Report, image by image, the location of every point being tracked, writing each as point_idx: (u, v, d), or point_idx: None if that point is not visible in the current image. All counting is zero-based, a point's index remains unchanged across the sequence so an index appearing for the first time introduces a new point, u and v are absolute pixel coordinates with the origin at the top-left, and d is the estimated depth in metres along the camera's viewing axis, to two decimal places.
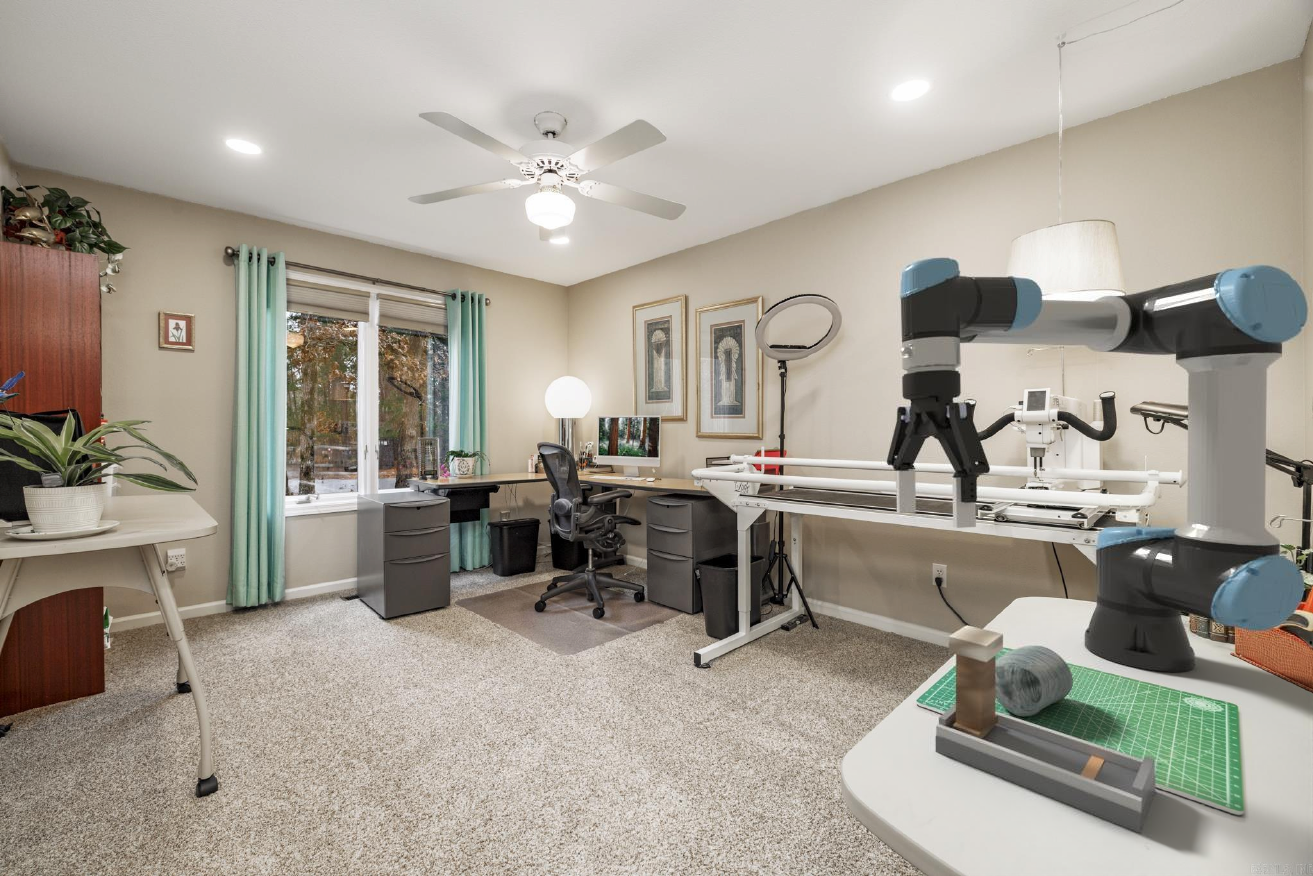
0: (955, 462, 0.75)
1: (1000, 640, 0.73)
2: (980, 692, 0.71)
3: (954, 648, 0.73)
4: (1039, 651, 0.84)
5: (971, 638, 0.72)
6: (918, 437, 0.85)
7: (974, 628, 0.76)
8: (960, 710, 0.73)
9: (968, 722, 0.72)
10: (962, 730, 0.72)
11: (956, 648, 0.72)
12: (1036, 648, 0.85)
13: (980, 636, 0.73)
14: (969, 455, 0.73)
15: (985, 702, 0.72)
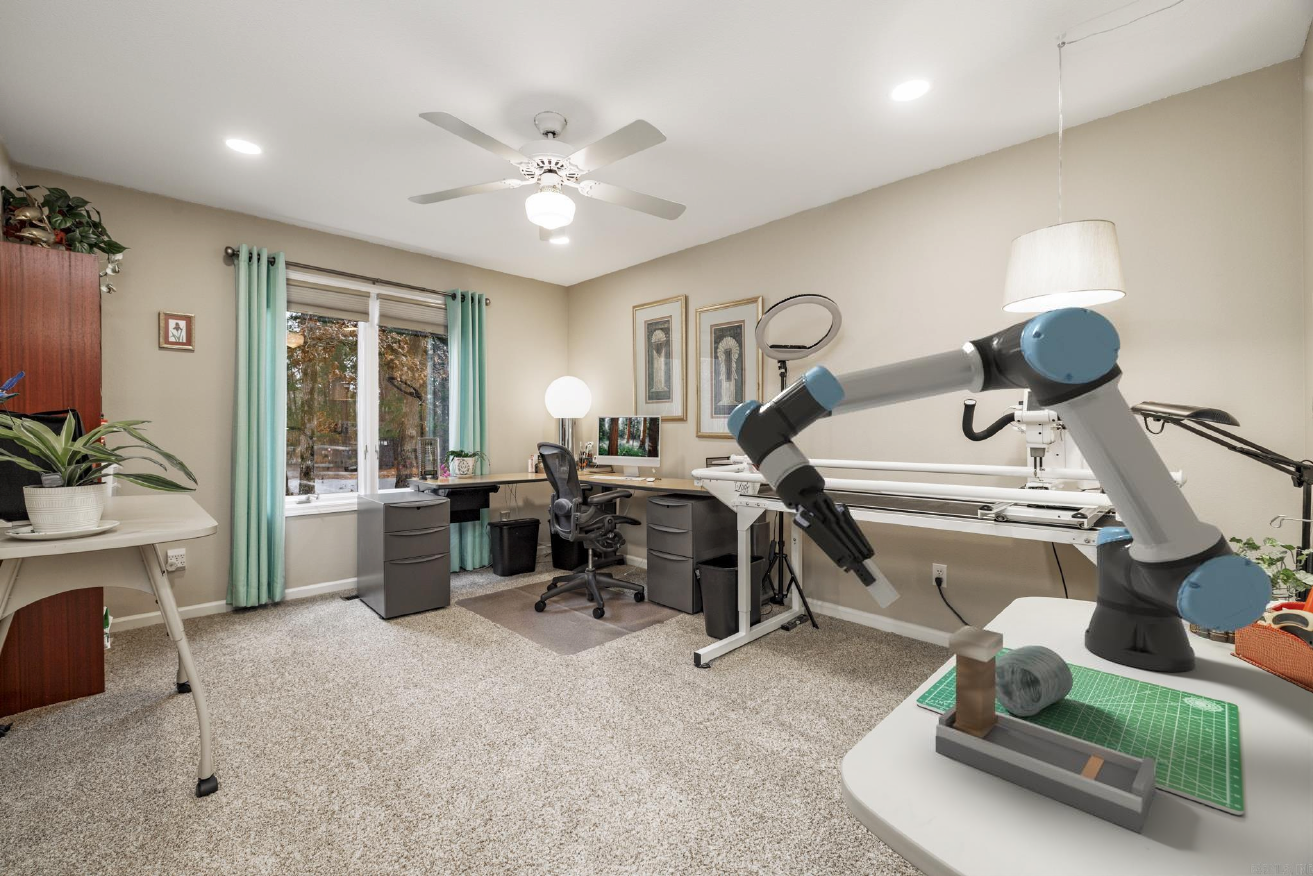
0: None
1: (1000, 640, 0.73)
2: (980, 692, 0.71)
3: (954, 648, 0.73)
4: (1039, 651, 0.84)
5: (971, 638, 0.72)
6: None
7: (974, 628, 0.76)
8: (960, 710, 0.73)
9: (968, 722, 0.72)
10: (962, 730, 0.72)
11: (956, 648, 0.72)
12: (1036, 648, 0.85)
13: (980, 636, 0.73)
14: (831, 557, 0.84)
15: (985, 702, 0.72)
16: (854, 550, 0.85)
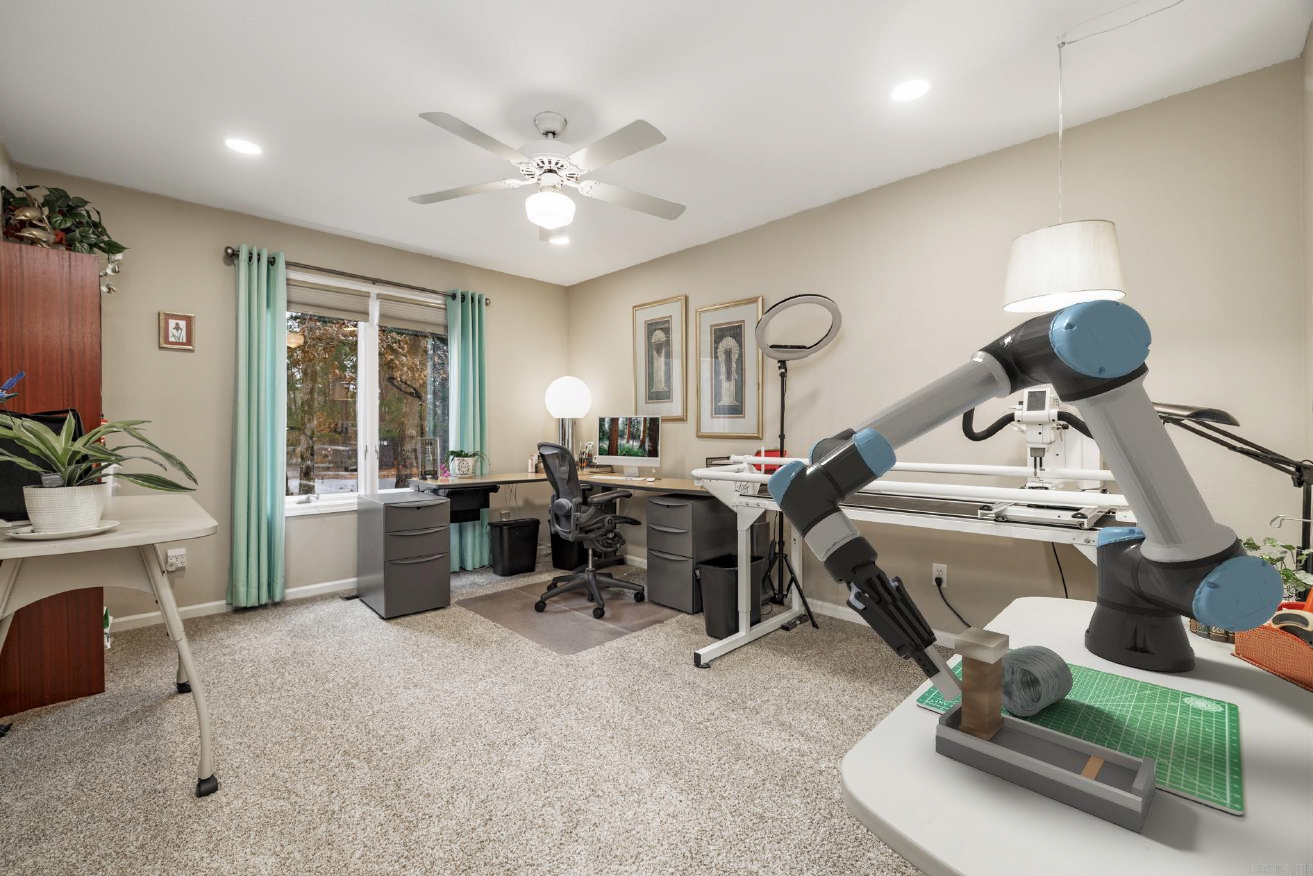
0: None
1: (1006, 641, 0.73)
2: (987, 694, 0.70)
3: (960, 650, 0.72)
4: (1039, 651, 0.84)
5: (977, 640, 0.72)
6: None
7: (979, 630, 0.75)
8: (966, 712, 0.72)
9: (974, 724, 0.71)
10: (968, 732, 0.71)
11: (962, 650, 0.72)
12: (1036, 648, 0.85)
13: (986, 637, 0.73)
14: (889, 644, 0.77)
15: (991, 704, 0.71)
16: (914, 636, 0.78)
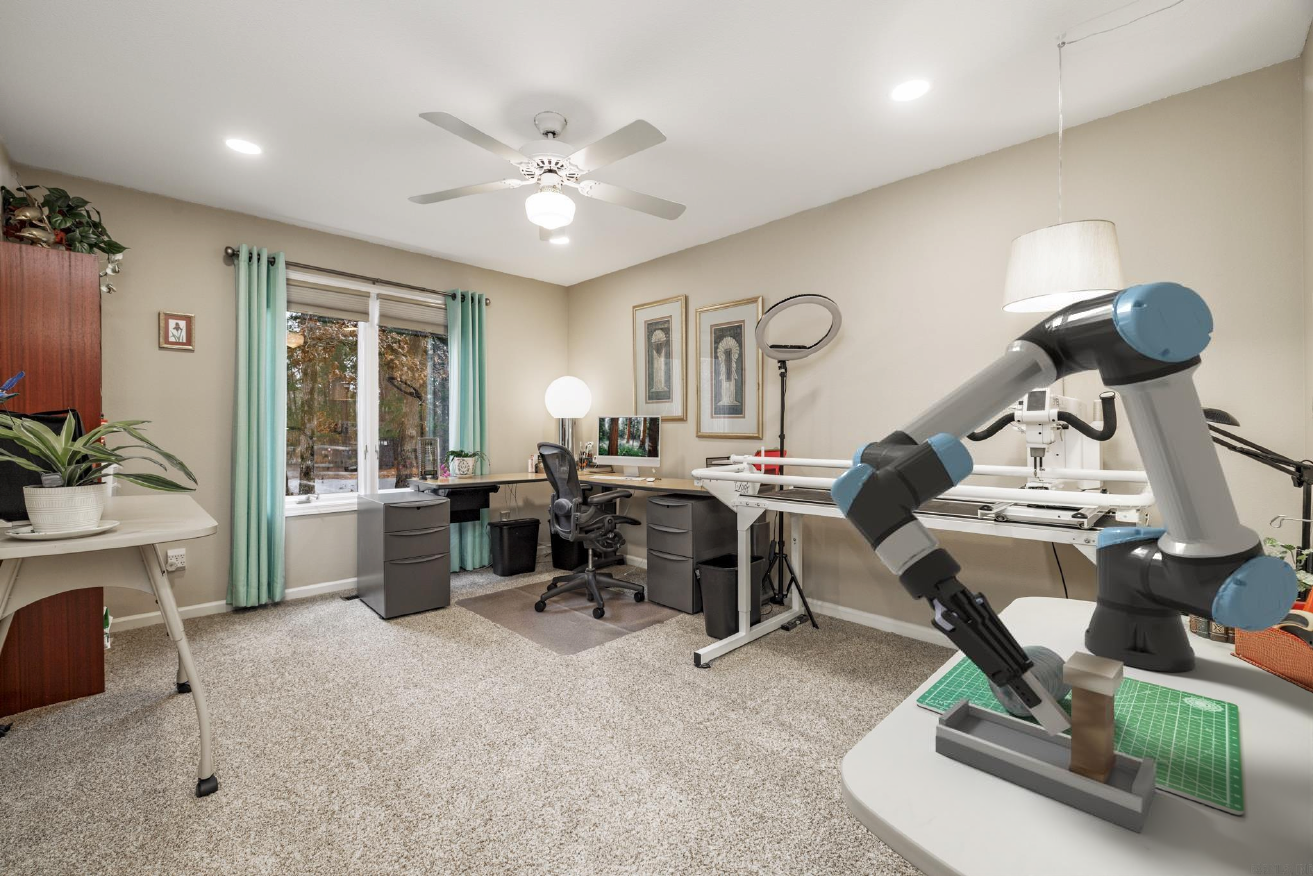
0: None
1: (1121, 669, 0.64)
2: (1103, 731, 0.62)
3: (1070, 679, 0.64)
4: (1039, 651, 0.84)
5: (1089, 668, 0.63)
6: None
7: (1087, 655, 0.67)
8: (1077, 750, 0.64)
9: (1087, 764, 0.63)
10: (1081, 773, 0.63)
11: (1073, 679, 0.63)
12: (1036, 648, 0.85)
13: (1099, 664, 0.64)
14: (982, 669, 0.69)
15: (1107, 741, 0.63)
16: (1010, 661, 0.69)
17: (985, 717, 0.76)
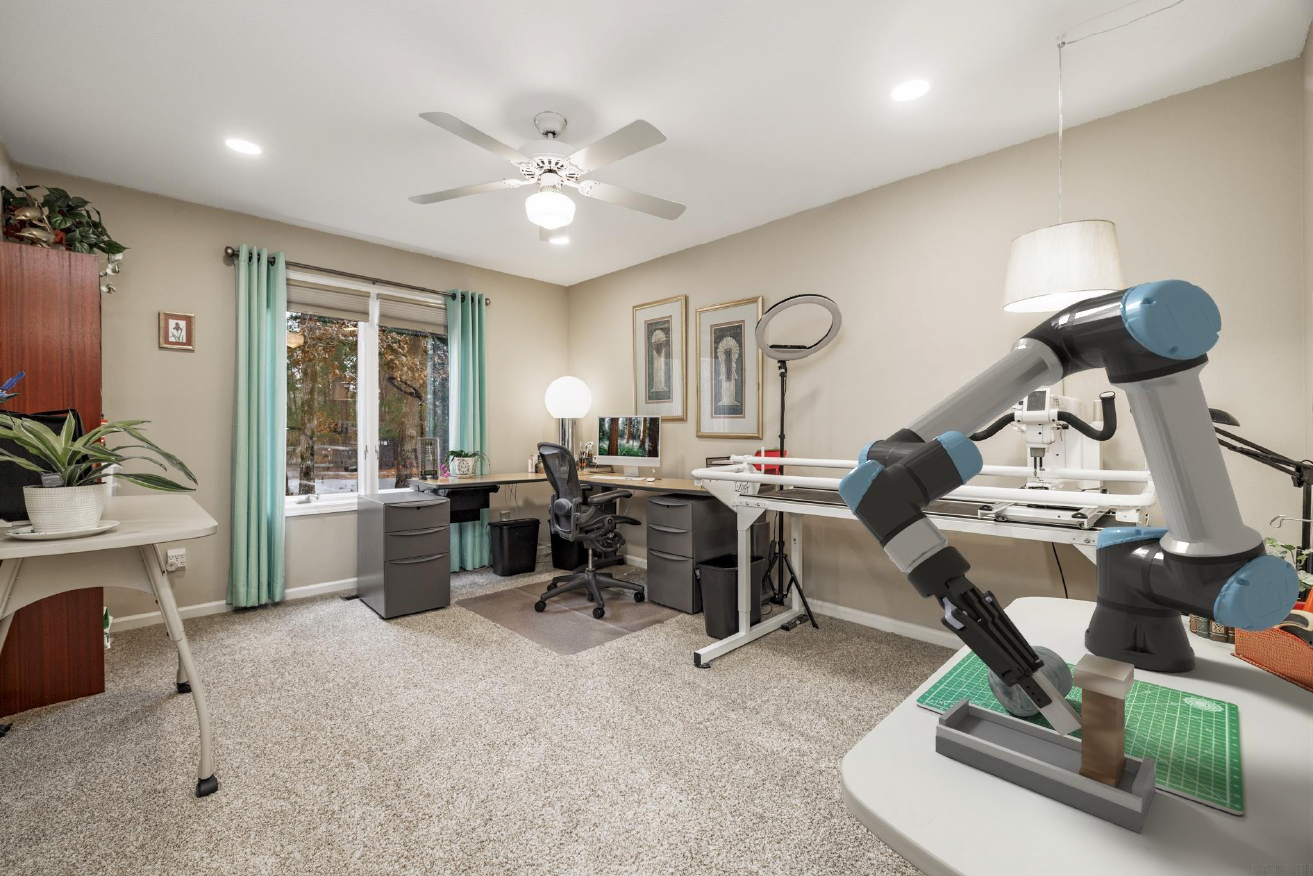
0: None
1: (1132, 672, 0.64)
2: (1115, 734, 0.61)
3: (1081, 682, 0.63)
4: (1039, 651, 0.84)
5: (1100, 670, 0.63)
6: None
7: (1097, 657, 0.66)
8: (1087, 753, 0.63)
9: (1098, 767, 0.62)
10: (1092, 777, 0.62)
11: (1083, 682, 0.63)
12: (1036, 648, 0.85)
13: (1109, 667, 0.63)
14: (992, 669, 0.68)
15: (1118, 744, 0.62)
16: (1020, 660, 0.69)
17: (985, 717, 0.76)
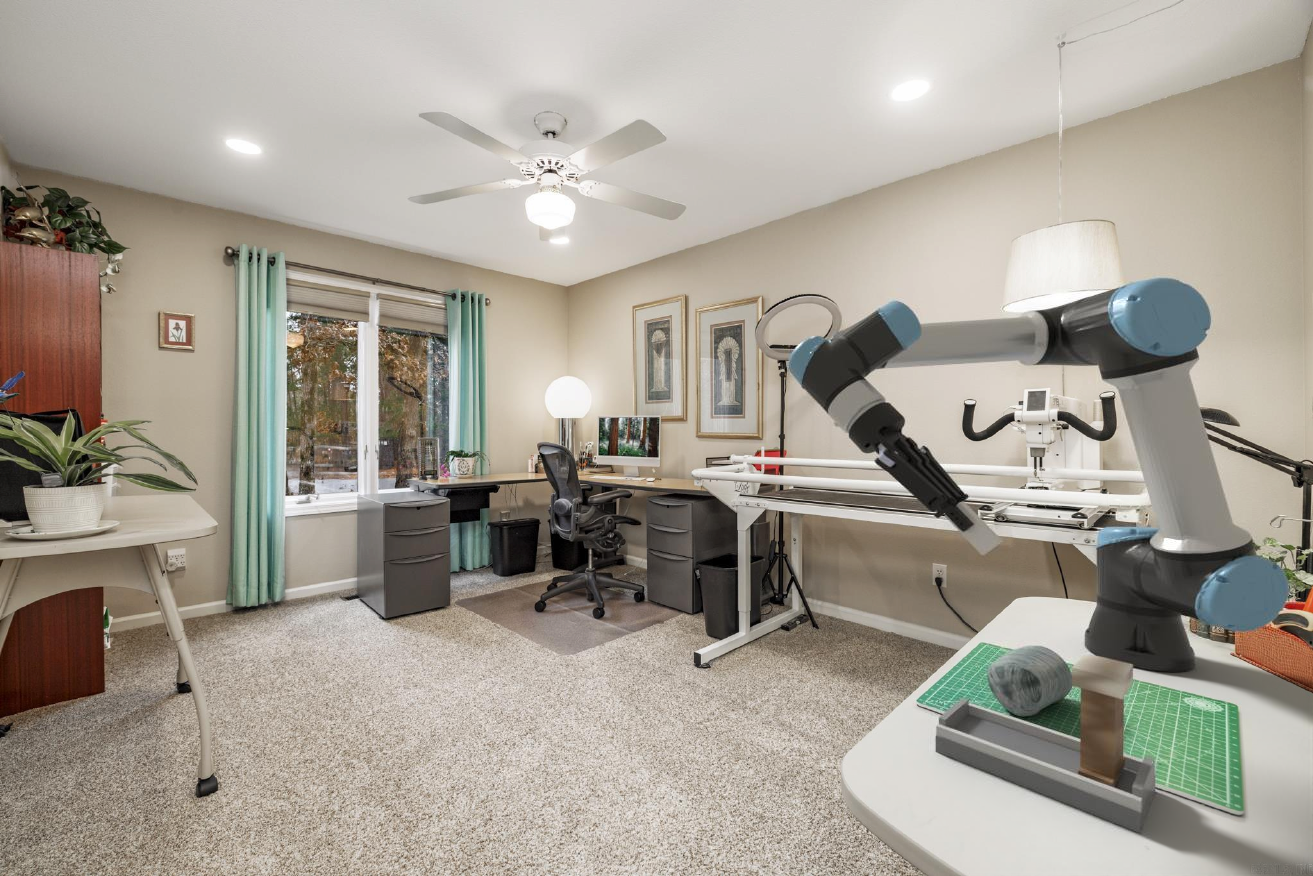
0: None
1: (1131, 672, 0.64)
2: (1113, 734, 0.61)
3: (1080, 682, 0.63)
4: (1039, 651, 0.84)
5: (1099, 670, 0.63)
6: None
7: (1096, 657, 0.66)
8: (1086, 753, 0.63)
9: (1097, 767, 0.62)
10: (1090, 777, 0.62)
11: (1082, 682, 0.63)
12: (1036, 648, 0.85)
13: (1108, 667, 0.64)
14: (920, 499, 0.75)
15: (1117, 744, 0.62)
16: (946, 492, 0.75)
17: (985, 717, 0.76)
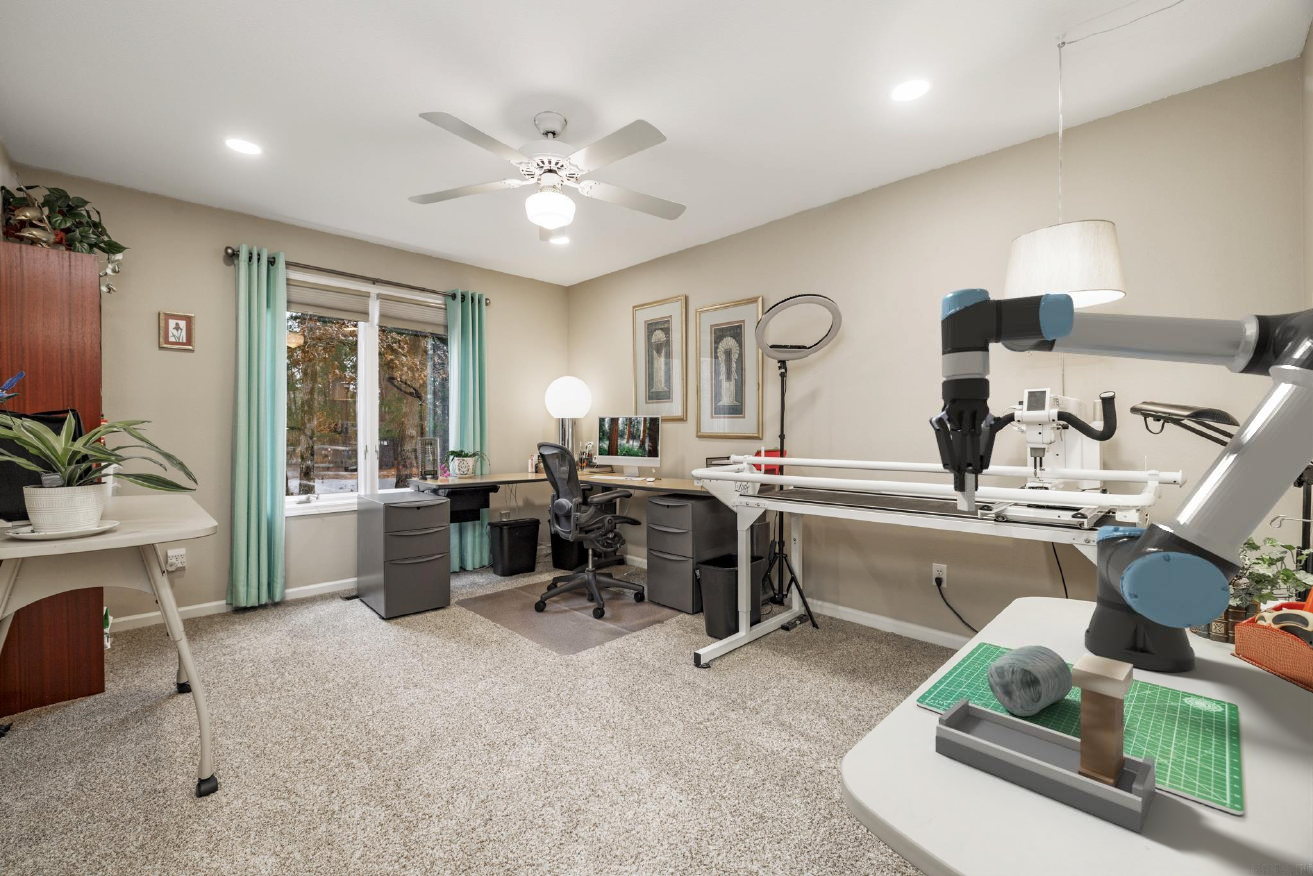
0: None
1: (1131, 672, 0.64)
2: (1113, 734, 0.61)
3: (1080, 682, 0.63)
4: (1039, 651, 0.84)
5: (1099, 670, 0.63)
6: (968, 434, 1.03)
7: (1096, 657, 0.66)
8: (1086, 753, 0.63)
9: (1097, 767, 0.62)
10: (1090, 777, 0.62)
11: (1082, 682, 0.63)
12: (1036, 648, 0.85)
13: (1108, 667, 0.64)
14: (941, 458, 1.03)
15: (1117, 744, 0.62)
16: (964, 463, 1.01)
17: (985, 717, 0.76)
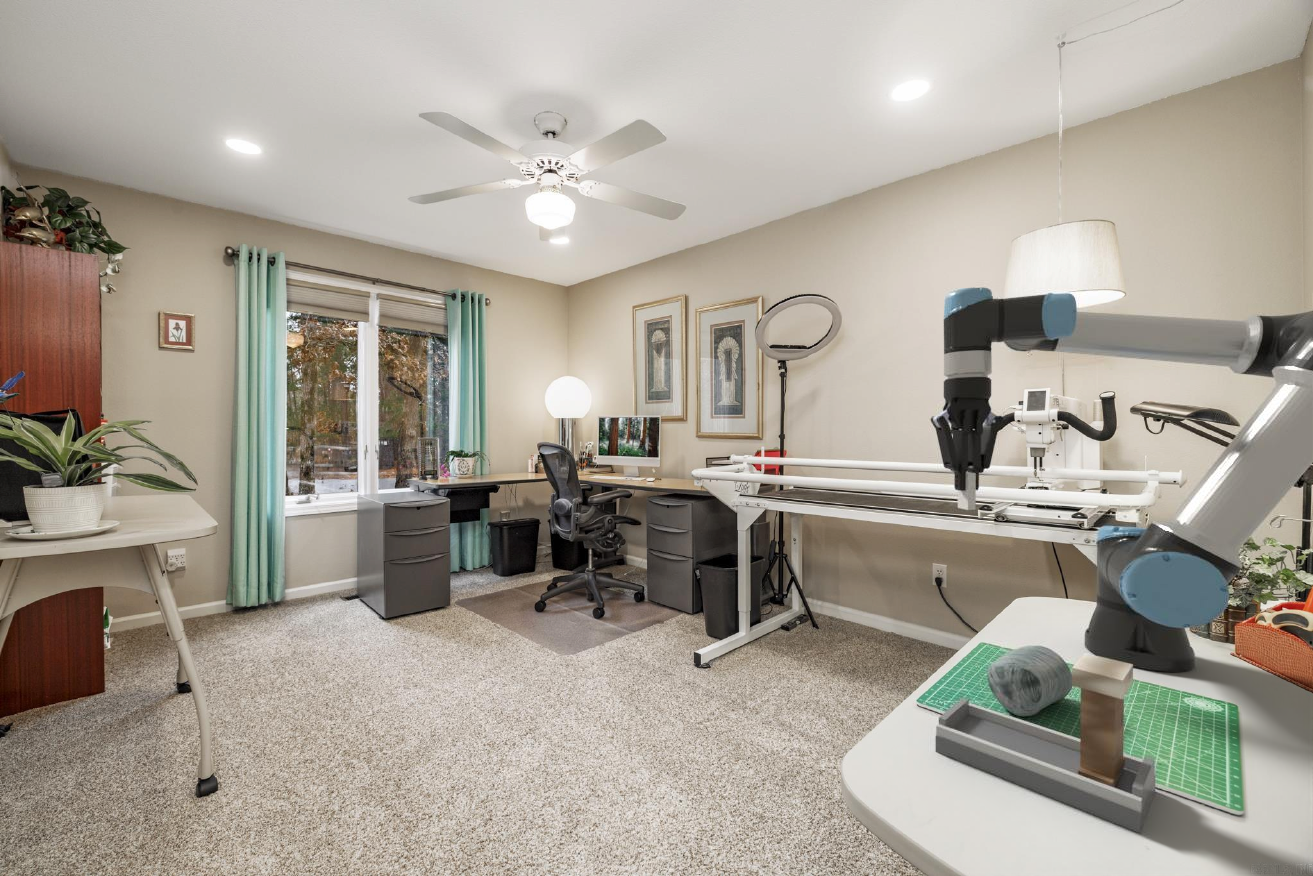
0: None
1: (1131, 672, 0.64)
2: (1113, 734, 0.61)
3: (1080, 682, 0.63)
4: (1039, 651, 0.84)
5: (1099, 670, 0.63)
6: (970, 433, 1.03)
7: (1096, 657, 0.66)
8: (1086, 753, 0.63)
9: (1097, 767, 0.62)
10: (1090, 777, 0.62)
11: (1082, 682, 0.63)
12: (1036, 648, 0.85)
13: (1108, 667, 0.64)
14: (942, 457, 1.03)
15: (1117, 744, 0.62)
16: (965, 462, 1.01)
17: (985, 717, 0.76)
